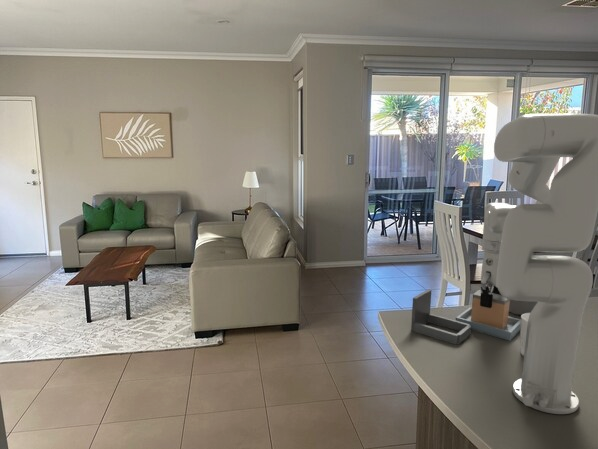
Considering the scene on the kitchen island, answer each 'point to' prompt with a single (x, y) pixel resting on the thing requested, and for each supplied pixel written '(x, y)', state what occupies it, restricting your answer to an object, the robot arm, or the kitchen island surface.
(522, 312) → the smart speaker
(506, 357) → the kitchen island surface
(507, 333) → the tray
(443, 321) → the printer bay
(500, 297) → the block
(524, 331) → the white cup
